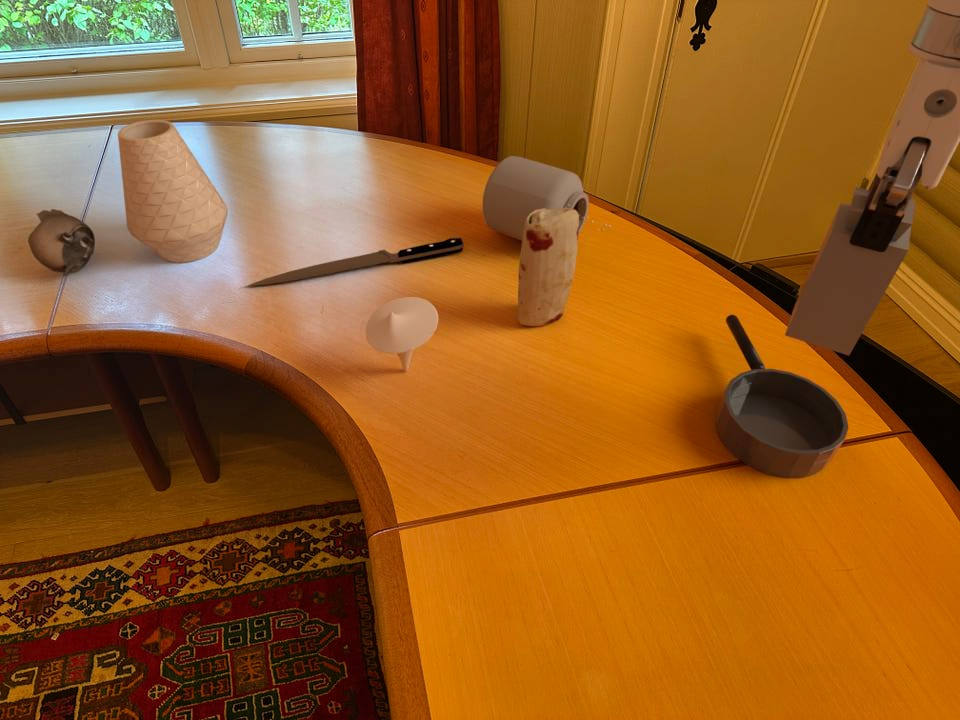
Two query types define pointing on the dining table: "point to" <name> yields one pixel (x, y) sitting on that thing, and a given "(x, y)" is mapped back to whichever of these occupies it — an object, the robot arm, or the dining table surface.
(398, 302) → the white spinning top
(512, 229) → the jar
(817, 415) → the pan
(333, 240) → the dining table surface
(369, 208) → the dining table surface
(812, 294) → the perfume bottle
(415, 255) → the steak knife
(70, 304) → the dining table surface
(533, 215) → the food model
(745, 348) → the pan handle
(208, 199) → the vase
